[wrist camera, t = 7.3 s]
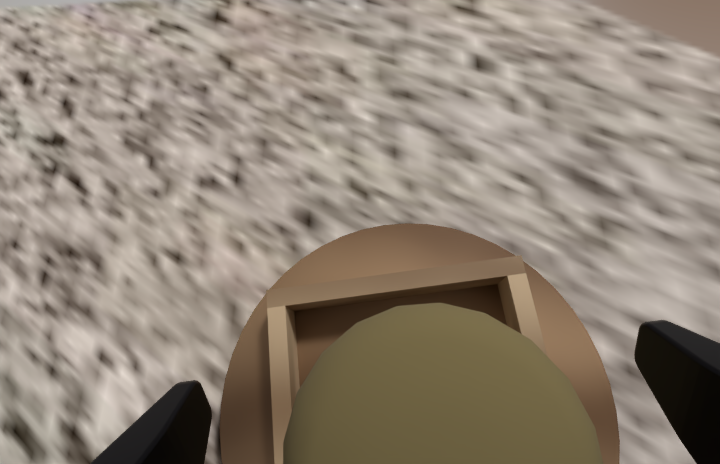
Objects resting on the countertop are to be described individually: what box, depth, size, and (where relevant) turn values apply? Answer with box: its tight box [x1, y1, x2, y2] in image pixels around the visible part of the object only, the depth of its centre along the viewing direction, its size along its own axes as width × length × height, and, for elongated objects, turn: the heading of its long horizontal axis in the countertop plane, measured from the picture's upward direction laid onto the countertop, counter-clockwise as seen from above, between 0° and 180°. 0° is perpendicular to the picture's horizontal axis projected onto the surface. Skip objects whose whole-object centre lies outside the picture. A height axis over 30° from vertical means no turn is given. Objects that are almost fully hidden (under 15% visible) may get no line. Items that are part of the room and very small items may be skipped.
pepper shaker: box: [283, 303, 603, 464], centre depth 11 cm, size 6×6×11 cm
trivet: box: [220, 224, 620, 464], centre depth 16 cm, size 15×15×3 cm
